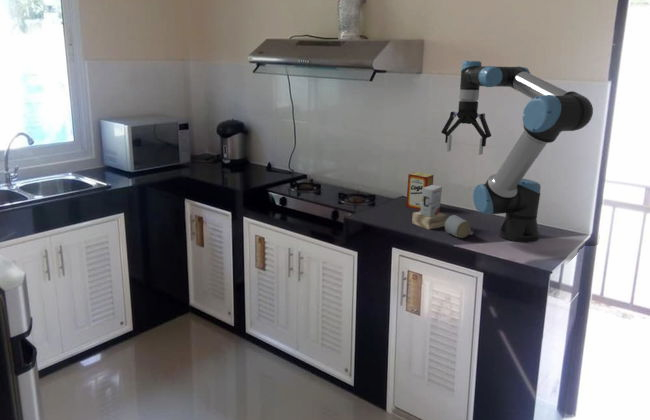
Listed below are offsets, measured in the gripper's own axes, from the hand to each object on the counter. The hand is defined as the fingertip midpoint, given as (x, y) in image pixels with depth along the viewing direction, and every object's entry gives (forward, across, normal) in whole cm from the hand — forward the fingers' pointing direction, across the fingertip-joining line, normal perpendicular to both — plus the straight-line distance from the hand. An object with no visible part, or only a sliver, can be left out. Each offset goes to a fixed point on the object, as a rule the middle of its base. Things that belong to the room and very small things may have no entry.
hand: (464, 152), depth 228 cm
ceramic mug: (+31, -6, +16) cm, 35 cm away
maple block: (+31, +9, +10) cm, 34 cm away
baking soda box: (+30, +24, -13) cm, 41 cm away
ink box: (+26, +9, +11) cm, 29 cm away
